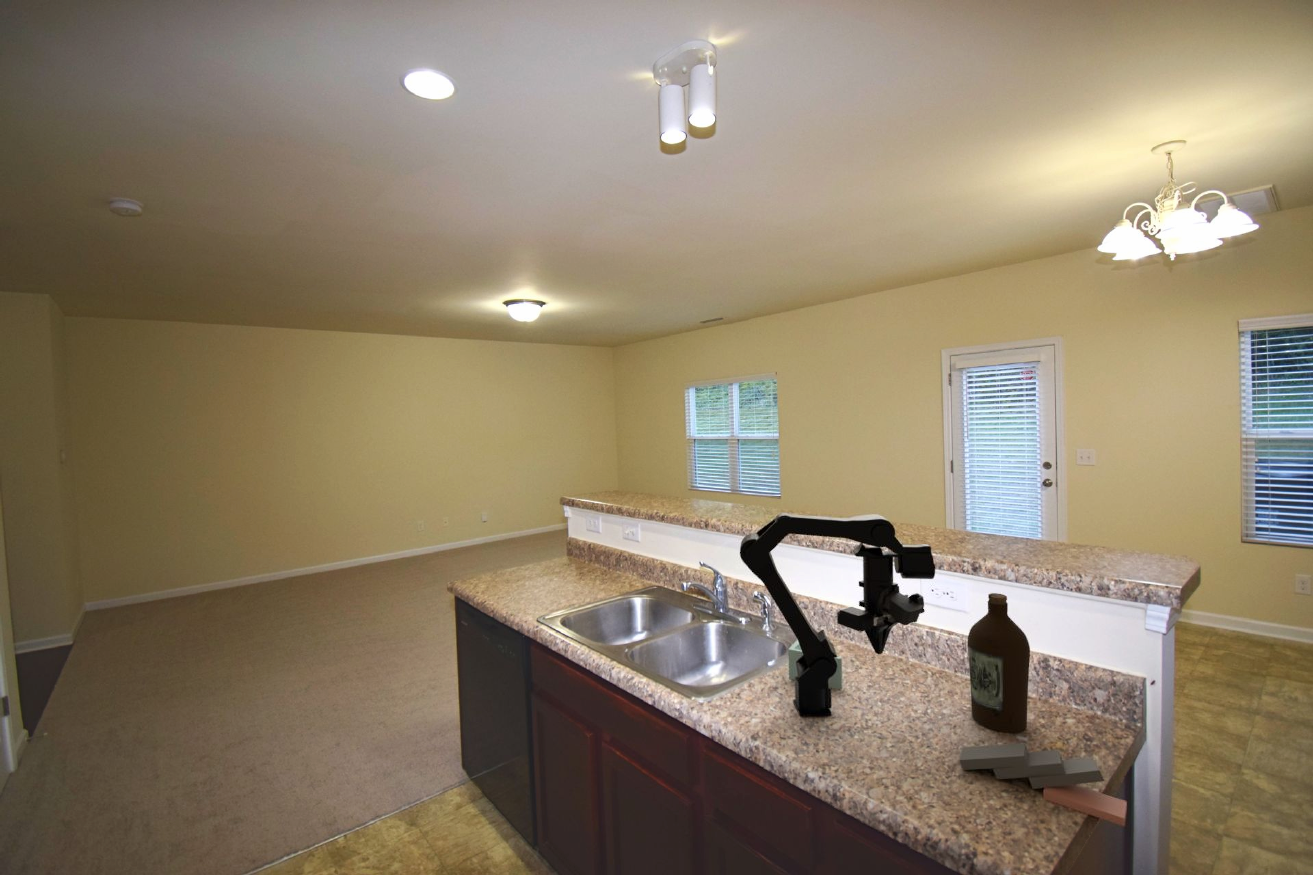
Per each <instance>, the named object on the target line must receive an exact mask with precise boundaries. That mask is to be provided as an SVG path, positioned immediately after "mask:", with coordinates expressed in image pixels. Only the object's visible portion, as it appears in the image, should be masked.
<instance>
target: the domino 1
mask: <svg viewBox="0 0 1313 875" xmlns="http://www.w3.org/2000/svg"><path fill="white" fill-rule="evenodd" d="M1029 752H1030V751H1029V749H1028V748H1027V744H1026V743H1025V742H1017V743H1003V744H1001V743H1000V744H991V745H990V744H989V745H977V746H964V747H963V746H962V748H961V753H960V756H959V760H958V761H959V763H960V765H961V768H962V770H963V771H965V770H966V771H967V770H985V769H993V768H1006V767H1024V766H1028V758H1029Z"/></svg>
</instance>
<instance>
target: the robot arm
mask: <svg viewBox="0 0 1313 875" xmlns="http://www.w3.org/2000/svg"><path fill="white" fill-rule="evenodd" d="M788 535H800V536H813V537H814V536H815V537H823V538H824V537H826V538H828V537H829V538H840V539H846V540H847V539H848V540H852V541H854V542H858V543H859V544H858V546H857V547H856V546H855V548H854V549H853V550H852V553H853V554H854V556H855V557H856V558H860V557H861V558H862V569H863V570H862V573H863V574H862V575H863V577H862V580H859V581H858V587H860V588H863V590H862V591H863V592H862V593H863V594H862V595H863V596H862V597H863V600H859V601H858V606H859V607H862V608H864V609H860V608H857V607H854V606H850V607H846V608H842V609H840V610H839V611H838V612H837V613H836V622H837V623H836V624H837V625H839V626H843V627H845V628H847V629H852V630H854V631H858V632H864V633H865V635H866V636H867V638H868V640H869V643H870V644H871V646H872V648H873V650H874V652H875V654H876V655H877V654H878V655H883V653H884V650H885V648H886V647H885V646H886V644H887V641H888V638H889V635H890V633H891V631H892V628H894V627H895V626H897V625H898V624H900V625H903V626H908V625H910V624H911V623H917V622H918V620H919V617H920V614H924V613H925V611H926V610H925V609H924V608H925V603H924V602H925V600H924V596H923V595H922V594H920V593H918V592H917V593H912V594H911V595H908V594H902V593H901V592H900V586H899V584H898V583H896V582H894V571H895V574H900V576H901V578H902V579H909V580H911V579H912V580H913V579H914V580H918V579H919V580H934V578H935V576H936V575H935V574H936V564H935V562H934V561H935V560H934V556H933V553H932V547H931V545H929V544H926V543H925V544H923V543H921V544H915V545H914V544H903V542H901V541H900V540H899V539H898V538H897V537H896V529H895V527H894V525H893V524H892V523H891V521H889V520H888V519H887V518H885V517H884V516H882V515H880V514H876V513H872V514H864V515H863V514H862V515H861V514H860V515H856V516H850V517H834V516H833V517H831V516H819V515H804V514H792V513H788V512H780V513H778V514H777V515H776V516H775V517H774V518H773V519H772V520H771V521H769V522H768V523H767V524H764V526H762V527H761V528H760V529H759V530H758V531H756V532H755V533H749V534H746V535H745V536H744V537H743V539H741V542H740V547H739V556H740V557H739V558H740V559H741V561H742V562H743V564H745V566H747V568H748V569H749V570H750V572H752V574H753V575H755V577H757V579H759V580H760V581H761V582H762V583H763V585H764V587H765V589H766V590H767V592H768V593H769V595H770V597H772V600H773V601H774V603H775V605H776V606H777V608H778V609H779V612H780V613H781V614H782V617H783V618H784V619H785V621H786V623H787V624H788V626H789V628H790V629H791V631H792V633H793V634H794V636H795V638H796V640H797V639H798V642H799V644H800V647H801V650H802V653H803V655H802V656H801V657H800V658H799V659H798V660H797V661H796V667H797V673H798V677H795V680H794V695H795V696H794V699H793V700H792V702H793V705H794V706H795V709H796V711H797V712H798V714H799V716H800V717H823V716H824V717H825V716H826V717H828V716H832V714H833V712H832V710H831V709H832V688H831V687H829V684H828V680H829V678H831V677H832V676H833V675H834V674H835V672H836V670H837V662H836V659H835V657H838V654H837V652H836V649H835V648H836V647H835V646H834V643H833V642H831V641H830V640H829V639H828V637H827V634H826V631H825V629H823V628H822V629H821V630H819V631H817V630H816V629H815V628H814V627H813V625H811V623H810V622H809V620H808V618H807V616H806V615H805V614H804V612H803V610H802V609H801V607H800V605H799V603H798V602H797V600H796V599H795V597H794V595H793V594H792V592H791V591H790V588H789V587H788V586H787V584H786V582H785V581H784V579H783V578H782V576H781V574H780V573H779V571H778V568H777V566H776V563H775V561H774V557H773V554H772V551H773V550H774V549H775V548H776V547H777V546H778V545H779V544H780V543H781V542H782V541H783V540H784V539H785V538H786V537H787V536H788ZM865 545H867V546H865ZM883 548H886V549H888V550H889V551H887V550H882V549H883Z"/></svg>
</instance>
